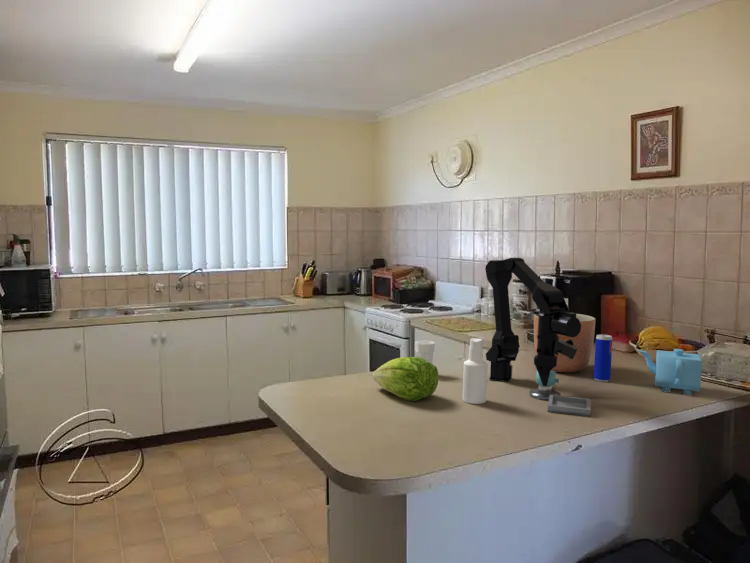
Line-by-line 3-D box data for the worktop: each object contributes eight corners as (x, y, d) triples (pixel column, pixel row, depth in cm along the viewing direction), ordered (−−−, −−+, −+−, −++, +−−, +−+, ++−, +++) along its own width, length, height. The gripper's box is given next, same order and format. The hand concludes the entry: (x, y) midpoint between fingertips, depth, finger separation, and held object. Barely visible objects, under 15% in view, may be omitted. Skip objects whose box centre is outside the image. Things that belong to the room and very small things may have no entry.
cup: (411, 375, 197) (412, 343, 196) (417, 371, 203) (418, 339, 202) (430, 377, 195) (431, 345, 194) (436, 373, 201) (437, 341, 200)
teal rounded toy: (535, 384, 174) (535, 371, 173) (536, 379, 179) (536, 367, 179) (558, 386, 172) (559, 373, 171) (559, 381, 177) (559, 369, 176)
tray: (547, 411, 161) (547, 405, 161) (549, 400, 171) (549, 394, 171) (590, 416, 157) (590, 410, 157) (589, 405, 168) (589, 398, 167)
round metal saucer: (528, 398, 173) (528, 385, 173) (530, 390, 182) (531, 377, 181) (560, 401, 170) (560, 388, 170) (560, 393, 179) (561, 380, 178)
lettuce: (393, 364, 188) (367, 346, 180) (450, 368, 173) (425, 349, 165) (381, 402, 183) (354, 386, 175) (439, 410, 168) (412, 392, 160)
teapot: (696, 386, 190) (699, 347, 189) (700, 398, 176) (703, 356, 175) (635, 379, 198) (637, 341, 196) (634, 390, 184) (637, 350, 182)
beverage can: (611, 382, 193) (614, 337, 191) (594, 381, 194) (597, 336, 192) (608, 378, 198) (611, 334, 196) (592, 377, 199) (594, 333, 197)
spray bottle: (487, 398, 172) (490, 338, 170) (484, 405, 165) (486, 342, 164) (464, 396, 174) (466, 336, 172) (460, 402, 168) (462, 340, 166)
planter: (568, 360, 223) (570, 311, 222) (605, 374, 204) (608, 320, 202) (520, 364, 217) (522, 313, 215) (554, 378, 197) (557, 322, 195)
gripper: (576, 339, 163) (573, 394, 164) (576, 328, 180) (574, 378, 182) (534, 335, 166) (532, 389, 168) (538, 325, 184) (536, 374, 185)
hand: (545, 382), depth 175 cm, fingers open, 6 cm apart
